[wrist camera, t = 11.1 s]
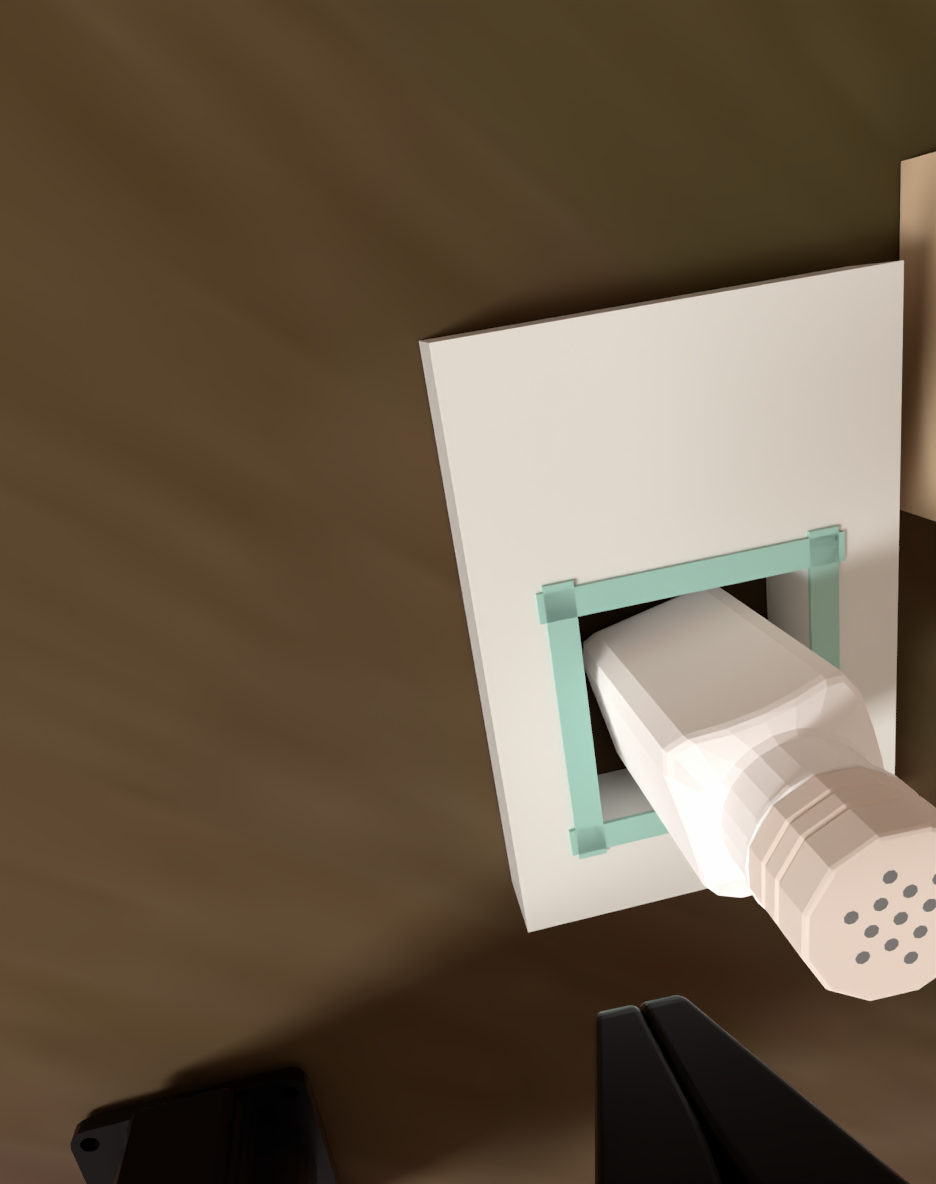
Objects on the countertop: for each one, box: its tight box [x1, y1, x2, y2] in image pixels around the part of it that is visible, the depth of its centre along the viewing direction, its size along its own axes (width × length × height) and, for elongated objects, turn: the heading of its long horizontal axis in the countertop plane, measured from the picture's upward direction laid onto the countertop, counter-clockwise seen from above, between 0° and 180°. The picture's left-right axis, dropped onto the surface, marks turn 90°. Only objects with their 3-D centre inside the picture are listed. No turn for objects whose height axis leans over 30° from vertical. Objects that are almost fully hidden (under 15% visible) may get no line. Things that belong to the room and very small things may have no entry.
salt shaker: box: [583, 587, 936, 1001], centre depth 17 cm, size 4×4×10 cm
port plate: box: [419, 260, 904, 933], centre depth 20 cm, size 14×10×2 cm
